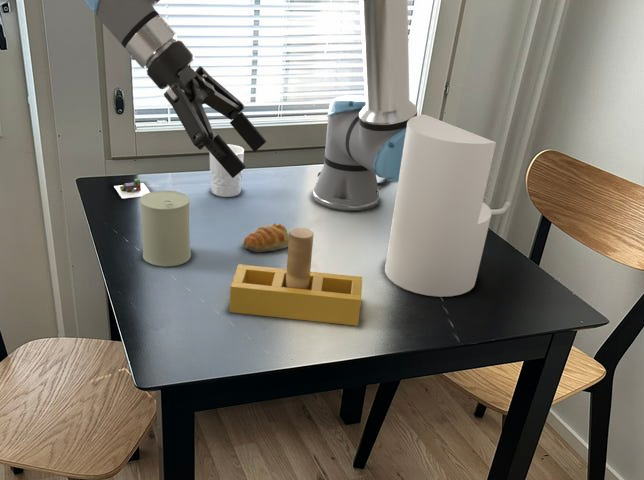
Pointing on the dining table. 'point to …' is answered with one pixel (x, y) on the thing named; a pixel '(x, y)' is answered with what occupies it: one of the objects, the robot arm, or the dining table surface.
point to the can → (165, 228)
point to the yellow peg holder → (296, 295)
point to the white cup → (225, 176)
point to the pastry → (267, 239)
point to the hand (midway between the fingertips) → (250, 159)
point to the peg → (299, 258)
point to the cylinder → (439, 209)
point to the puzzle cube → (132, 189)
